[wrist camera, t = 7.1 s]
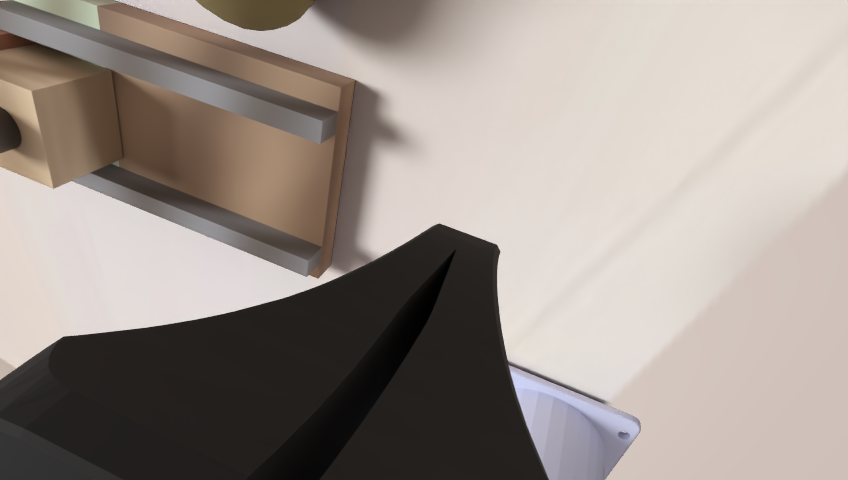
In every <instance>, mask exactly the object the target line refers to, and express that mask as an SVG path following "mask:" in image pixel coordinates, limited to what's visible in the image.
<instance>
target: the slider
mask: <svg viewBox="0 0 848 480" xmlns="http://www.w3.org/2000/svg"><path fill="white" fill-rule="evenodd" d="M121 159H123V153H122V146H121V138H120V131H119V124H118V116H117V109H116V101H115V94H114V87H113V79H112V72H111V70H108V69H105V68H103V67H100V66H97V65H94V64H92V63H89V62H86V61H83V60H80V59H78V58H75V57H72V56H69V55H66V54H64V53H61V52H58V51H55V50H53V49H50V48H47V47H44V46H41V45H39V44H33V45H27V46H22V47H16V48H10V49H5V50H0V167H2V168H5V169H7V170H10V171H12V172H14V173H17V174H19V175H22V176H24V177H27V178H29V179H31V180H34V181H36V182H39V183H41V184H43V185H46V186H48V187H51V188H53V189H54V188H56V187H58V186H61V185H63V184H65V183H68V182H70V181H72V180H75V179H77V178H79V177H82V176H84V175H86V174H88V173H91V172H93V171H95V170H98V169H100V168H102V167H105V166H107V165H109V164H112V163H114V162H116V161H118V160H121Z"/></svg>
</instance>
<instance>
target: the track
mask: <svg viewBox="0 0 848 480" xmlns="http://www.w3.org/2000/svg"><path fill="white" fill-rule="evenodd" d="M33 44H39V45H41V46H44V47H47V48H50V49H53V50H55V51H58V52H61V53H64V54H66V55H69V56H72V57H75V58H78V59H80V60H83V61H86V62H89V63H92V64H94V65H97V66H100V67H103V68H105V69H108V70H111V72H112V79H113V87H114V94H115V101H116V109H117V116H118V124H119V131H120V138H121V146H122V153H123V159H121V160H118V161H116V162H114V163H112V164H109V165H107V166H105V167H102V168H100V169H98V170H95V171H93V172H91V173H88V174H86V175H84V176H82V177H79V178H77V179H75V180H72V181H73V182H76V183H78V184H80V185H83V186H85V187H88V188H90V189H93V190H95V191H98V192H100V193H103V194H105V195H107V196H110V197H112V198H115V199H117V200H120V201H122V202H125V203H127V204H129V205H132V206H134V207H137V208H139V209H142V210H144V211H147V212H149V213H152V214H154V215H156V216H159V217H161V218H164V219H166V220H169V221H171V222H174V223H176V224H178V225H181V226H183V227H186V228H188V229H191V230H193V231H196V232H198V233H201V234H203V235H205V236H208V237H210V238H213V239H215V240H218V241H220V242H223V243H225V244H227V245H230V246H232V247H235V248H237V249H240V250H242V251H245V252H247V253H250V254H252V255H254V256H257V257H259V258H262V259H264V260H267V261H269V262H272V263H274V264H276V265H279V266H281V267H284V268H286V269H289V270H291V271H294V272H296V273H299V274H301V275H303V276H306V277H307V276H308V275H311V276H313V277H316V278H319V277H320V276H321V275H322V274H323V273H324V272H325V271H326V270H327V269H328V267H329V266H330V265H331V258H332V250H333V243H334V235H335V228H336V220H337V213H338V205H339V198H340V191H341V183H342V176H343V168H344V161H345V153H346V146H347V138H348V131H349V123H350V116H351V108H352V101H353V94H354V86H355V80H353V79H350V78H347V77H344V76H341V75H338V74H335V73H332V72H329V71H326V70H323V69H320V68H317V67H314V66H311V65H307V64H304V63H301V62H298V61H295V60H292V59H289V58H286V57H283V56H280V55H277V54H274V53H271V52H268V51H265V50H262V49H259V48H256V47H253V46H250V45H247V44H244V43H241V42H238V41H235V40H232V39H229V38H226V37H223V36H220V35H217V34H214V33H211V32H208V31H205V30H202V29H199V28H196V27H193V26H190V25H187V24H184V23H181V22H178V21H174V20H171V19H168V18H165V17H162V16H159V15H156V14H153V13H150V12H147V11H144V10H141V9H138V8H135V7H132V6H129V5H126V4H123V3H120V2H117V1H114V0H6V1H0V50H5V49H10V48H16V47H22V46H27V45H33Z"/></svg>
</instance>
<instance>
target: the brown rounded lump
mask: <svg viewBox="0 0 848 480" xmlns="http://www.w3.org/2000/svg"><path fill="white" fill-rule="evenodd" d="M196 1H197V2H198V3H200V4H201V5H202V6H203V7H204V8H206V9H207V10H209V11H210V12H212V13H213V14H215V15H217V16H218V17H220V18H221V19H223V20H224V21H227V22H229V23H231V24H234V25H236V26H239V27H241V28H244V29H250V30H257V31H265V30H274V29H277V28H281V27H284V26H288V25H289V24H291V23H293V22H295V21H296V20H298V19H300V18H301V16H302V15H303V14H304V13H305V12H306V11H307V10H308V9H309V7H310V6H311V5H312V4H313V2H314V1H315V0H196Z"/></svg>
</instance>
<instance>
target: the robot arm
mask: <svg viewBox="0 0 848 480" xmlns="http://www.w3.org/2000/svg"><path fill="white" fill-rule="evenodd" d="M499 254H500V250H499V248H498V246H497V245H496V244H493V243H491V242H488V241H485V240H482V239H480V238H477V237H474V236H472V235H469V234H466V233H464V232H461V231H458V230H455V229H453V228H450V227H447V226H445V225H442V224H437V225H434V226H432V227H431V228H429V229H428V230H426V231H424V232H423V233H421V234H420V235H418V236H416V237H415V238H413V239H412V240H410V241H408V242H406V243H405V244H403V245H401V246H400V247H398V248H396V249H394V250H393V251H391V252H389V253H387V254H385V255H383V256H382V257H380V258H378V259H376V260H374V261H372V262H370V263H368V264H366V265H364V266H362V267H360V268H358V269H356V270H354V271H352V272H349V273H347V274H345V275H343V276H341V277H339V278H337V279H334V280H332V281H329V282H327V283H325V284H322V285H320V286H317V287H315V288H312V289H309V290H306V291H304V292H301V293H298V294H295V295H292V296H289V297H286V298H283V299H279V300H276V301H272V302H268V303H265V304H261V305H257V306H253V307H250V308H246V309H242V310H238V311H235V312H230V313H226V314H221V315H217V316H212V317H207V318H202V319H197V320H191V321H185V322H180V323H174V324H168V325H162V326H155V327H148V328H140V329H131V330H123V331H114V332H105V333H96V334H88V335H78V336H66V337H62V338H61V339H59V340H58V341H56V342H55V343H53V344H51V345H50V346H48V347H47V348H46V349H44V350H43V351H41V352H40V353H38V354H37V355H35V356H34V357H32V358H31V359H29V360H28V361H27V362H25V363H24V364H22V365H21V366H20V367H18V368H17V369H15V370H14V371H12V372H11V373H10V374H8V375H7V376H6V377H4V378H2V379H1V380H0V480H605V479H606V478H607V476H608V475H609V473H610V472H611V471H612V469H613V468H614V467H615V465H616V464H617V462H618V461H619V460H620V458H621V457H622V456H623V454H624V453H625V452H626V450H627V449H628V448H629V446H630V445H631V444H632V442H633V441H634V439H635V438H636V437H637V435H638V434H639V433H640V429H641V426H640V421H639V420H638V419H637V418H636V417H634V416H632V415H629V414H627V413H624V412H622V411H620V410H617V409H615V408H612V407H610V406H607V405H605V404H603V403H600V402H598V401H595V400H593V399H590V398H588V397H585V396H583V395H581V394H578V393H576V392H573V391H571V390H568V389H566V388H563V387H561V386H559V385H556V384H554V383H551V382H549V381H546V380H544V379H542V378H539V377H537V376H534V375H532V374H529V373H527V372H524V371H522V370H520V369H517V368H515V367H512V366H510V365H508V360H507V356H506V351H505V346H504V341H503V336H502V330H501V323H500V315H499V305H498V295H497V266H498V258H499ZM621 431H624V432H627V433H623V432H621Z"/></svg>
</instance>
